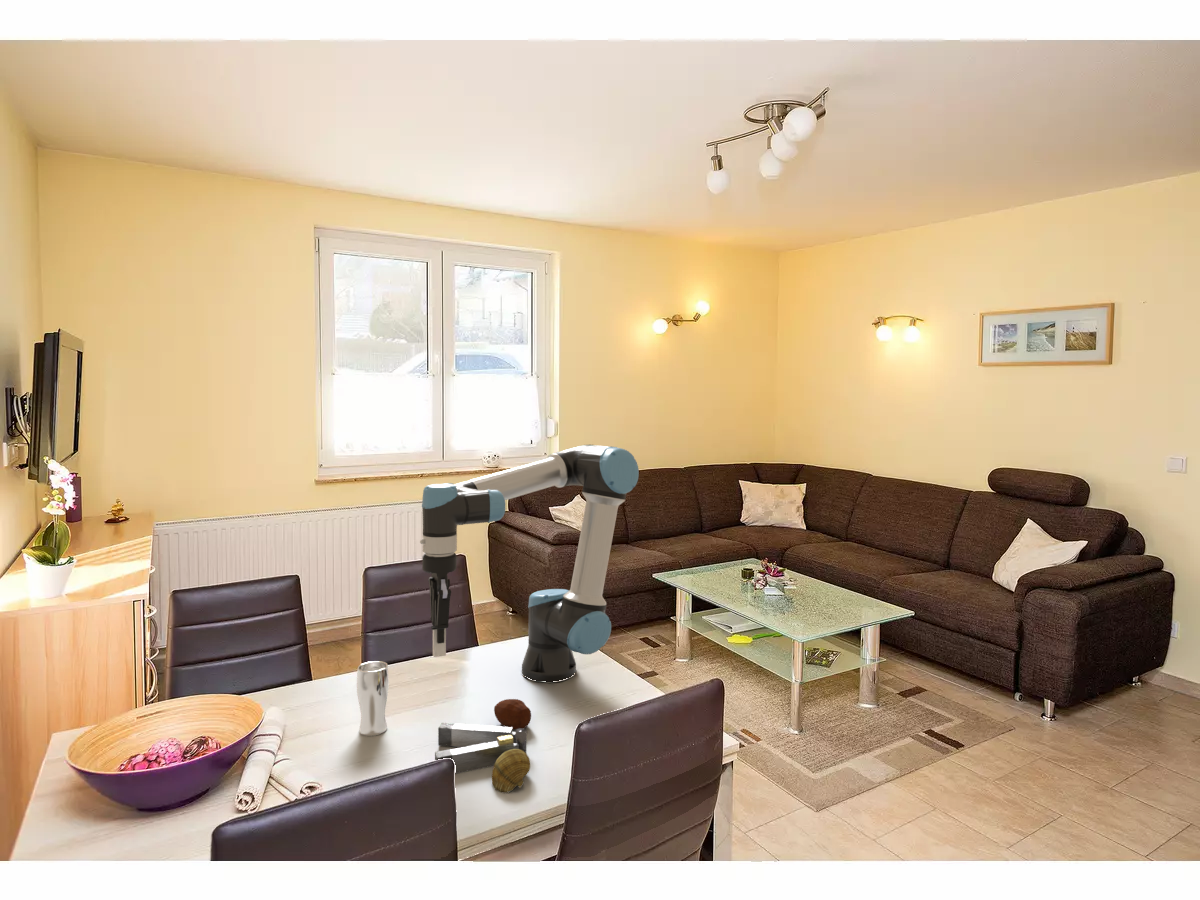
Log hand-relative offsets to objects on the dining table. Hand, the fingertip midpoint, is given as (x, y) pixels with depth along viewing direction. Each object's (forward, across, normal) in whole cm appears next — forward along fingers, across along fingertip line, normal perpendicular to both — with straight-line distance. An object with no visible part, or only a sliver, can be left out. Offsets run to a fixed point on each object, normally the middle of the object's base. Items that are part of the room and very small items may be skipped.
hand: (439, 655), depth 163 cm
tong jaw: (+17, +11, +6) cm, 21 cm away
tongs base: (+18, +18, +6) cm, 26 cm away
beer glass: (+18, -6, -14) cm, 24 cm away
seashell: (+18, +27, +9) cm, 34 cm away
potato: (+18, +4, +16) cm, 25 cm away
